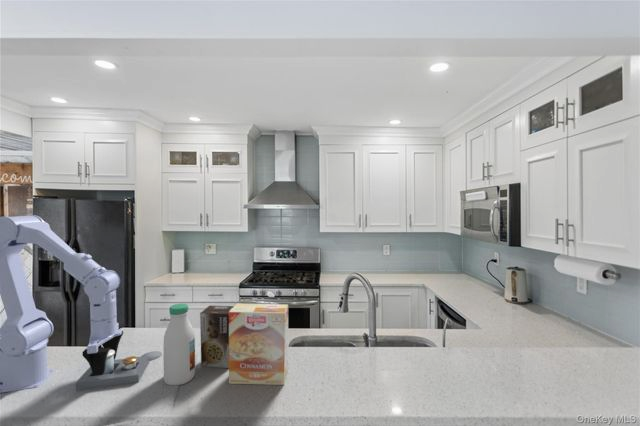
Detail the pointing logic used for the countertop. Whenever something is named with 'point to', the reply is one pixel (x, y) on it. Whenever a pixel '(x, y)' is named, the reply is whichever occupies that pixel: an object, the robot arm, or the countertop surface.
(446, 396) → the countertop surface
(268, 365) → the coffeecake box
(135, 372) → the grey flat block
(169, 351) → the milk bottle
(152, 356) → the pad
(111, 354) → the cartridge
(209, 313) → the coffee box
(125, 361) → the plunger
